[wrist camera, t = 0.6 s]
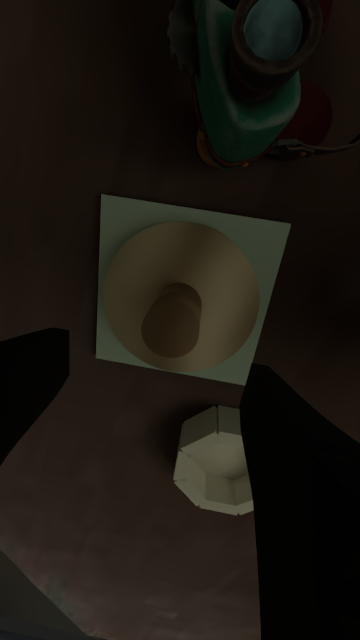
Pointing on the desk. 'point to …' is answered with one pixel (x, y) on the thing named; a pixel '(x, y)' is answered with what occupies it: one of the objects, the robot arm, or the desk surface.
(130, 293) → the lid
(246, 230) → the mat
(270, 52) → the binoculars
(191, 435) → the bowl
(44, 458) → the desk surface
